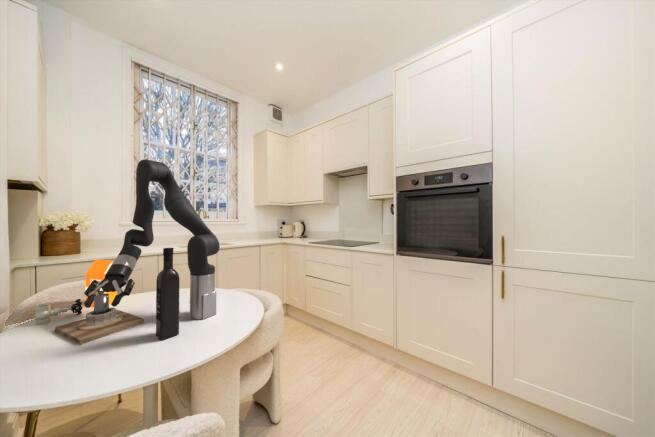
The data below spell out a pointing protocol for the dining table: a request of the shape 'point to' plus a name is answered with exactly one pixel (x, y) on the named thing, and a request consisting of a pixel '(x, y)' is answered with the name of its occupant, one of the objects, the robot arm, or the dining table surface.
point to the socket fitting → (98, 325)
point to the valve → (54, 312)
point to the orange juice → (99, 276)
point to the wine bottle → (167, 298)
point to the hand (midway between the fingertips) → (100, 306)
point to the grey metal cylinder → (101, 304)
